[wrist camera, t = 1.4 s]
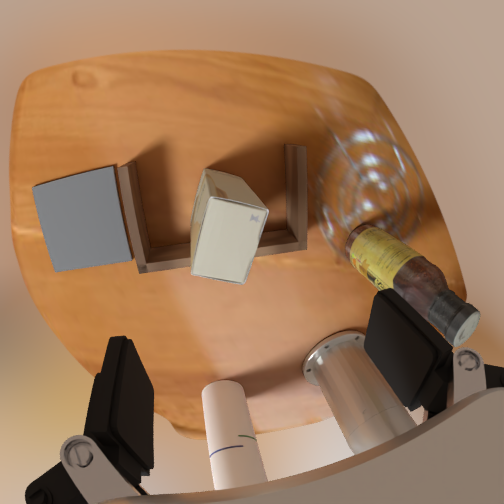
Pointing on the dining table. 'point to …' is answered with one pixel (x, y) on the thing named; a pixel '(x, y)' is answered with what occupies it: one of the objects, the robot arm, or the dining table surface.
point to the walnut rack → (181, 253)
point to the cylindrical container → (231, 437)
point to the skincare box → (225, 227)
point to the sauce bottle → (411, 281)
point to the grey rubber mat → (82, 220)
